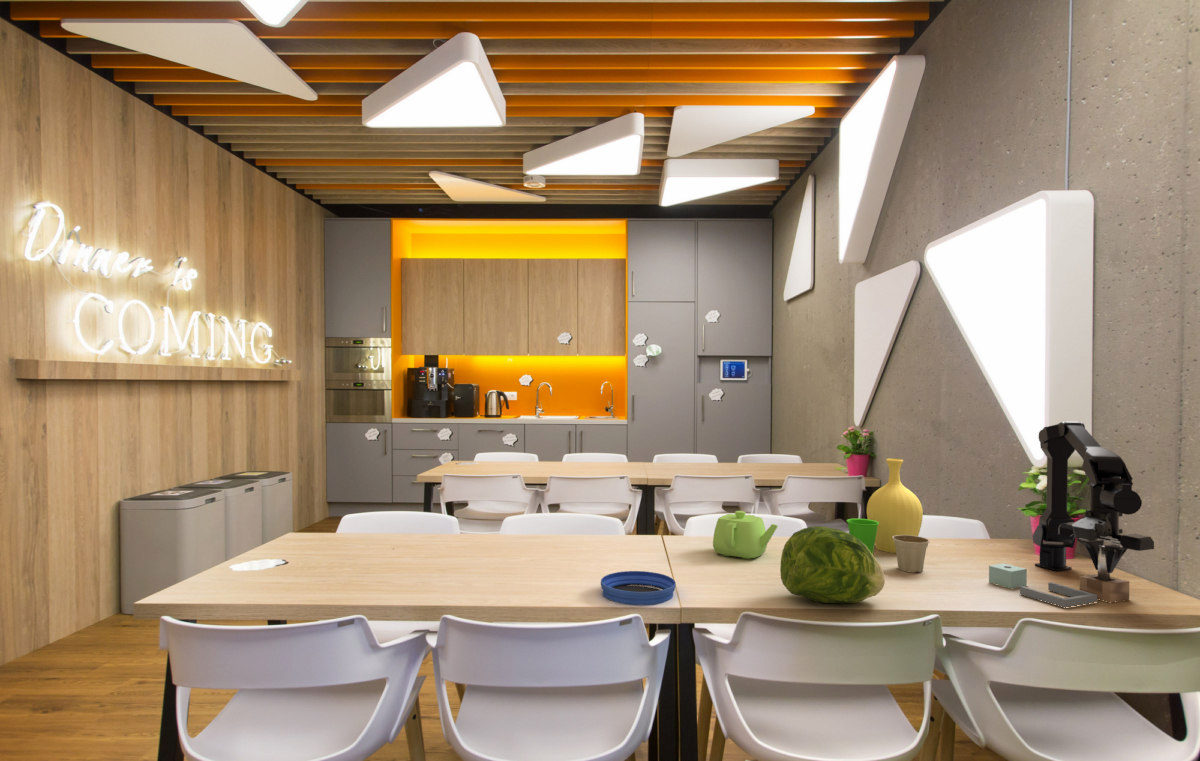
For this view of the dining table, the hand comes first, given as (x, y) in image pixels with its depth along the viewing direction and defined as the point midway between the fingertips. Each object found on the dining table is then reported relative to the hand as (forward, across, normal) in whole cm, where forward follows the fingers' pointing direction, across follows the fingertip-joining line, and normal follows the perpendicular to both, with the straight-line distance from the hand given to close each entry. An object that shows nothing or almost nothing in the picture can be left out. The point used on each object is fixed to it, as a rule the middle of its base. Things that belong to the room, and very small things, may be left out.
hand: (1103, 571), depth 164 cm
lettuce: (+6, -21, -64) cm, 68 cm away
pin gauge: (+2, 0, 0) cm, 2 cm away
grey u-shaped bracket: (+6, -3, -12) cm, 14 cm away
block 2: (+6, 0, 0) cm, 6 cm away
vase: (+7, -55, -11) cm, 56 cm away
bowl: (+7, -41, -105) cm, 113 cm away
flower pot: (+6, -35, -25) cm, 43 cm away
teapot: (+7, -64, -59) cm, 87 cm away
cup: (+6, -49, -29) cm, 57 cm away
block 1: (+6, -16, -12) cm, 21 cm away
